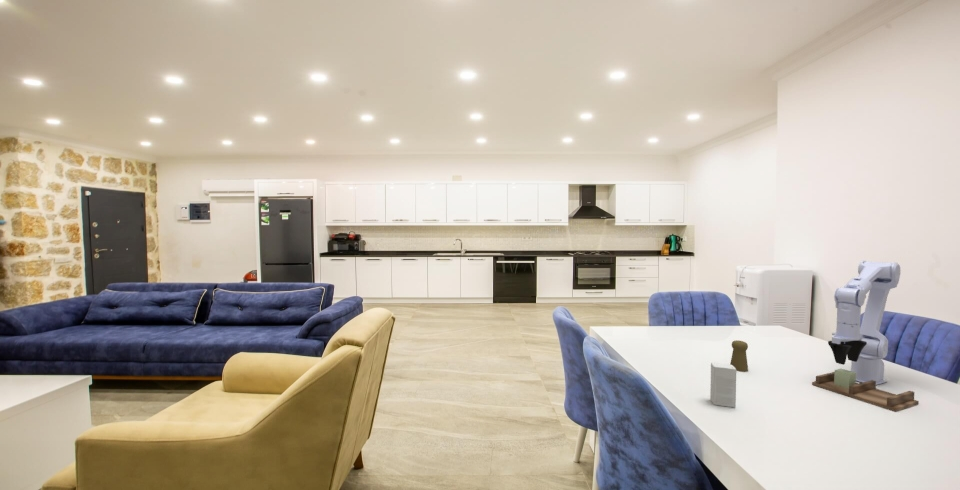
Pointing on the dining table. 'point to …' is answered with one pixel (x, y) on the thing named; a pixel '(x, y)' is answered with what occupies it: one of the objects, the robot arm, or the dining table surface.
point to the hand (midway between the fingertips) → (846, 362)
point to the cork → (739, 356)
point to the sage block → (844, 378)
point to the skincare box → (723, 385)
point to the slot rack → (868, 393)
